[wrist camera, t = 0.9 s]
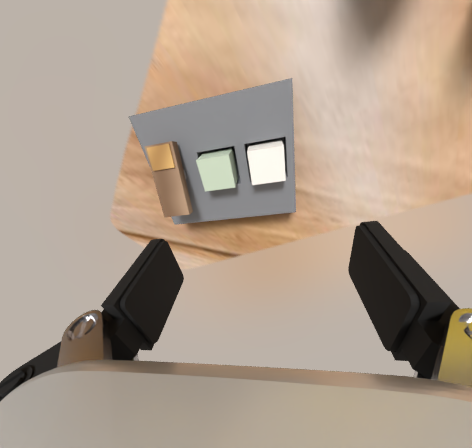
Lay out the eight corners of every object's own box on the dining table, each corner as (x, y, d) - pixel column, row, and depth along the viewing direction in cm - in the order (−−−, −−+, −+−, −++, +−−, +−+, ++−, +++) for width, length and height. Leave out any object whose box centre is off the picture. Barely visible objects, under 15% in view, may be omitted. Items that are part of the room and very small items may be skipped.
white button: (281, 139, 21) (283, 145, 19) (283, 170, 23) (285, 180, 21) (248, 144, 22) (247, 151, 19) (253, 175, 24) (252, 185, 21)
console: (287, 80, 21) (293, 77, 17) (291, 198, 28) (296, 216, 24) (146, 113, 24) (122, 117, 20) (183, 210, 31) (171, 228, 27)
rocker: (176, 141, 21) (170, 140, 20) (193, 211, 24) (188, 215, 22) (150, 146, 22) (143, 146, 21) (169, 214, 24) (163, 217, 23)
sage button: (232, 147, 22) (228, 154, 20) (238, 177, 24) (235, 187, 22) (203, 152, 23) (195, 160, 21) (211, 181, 25) (205, 191, 22)
